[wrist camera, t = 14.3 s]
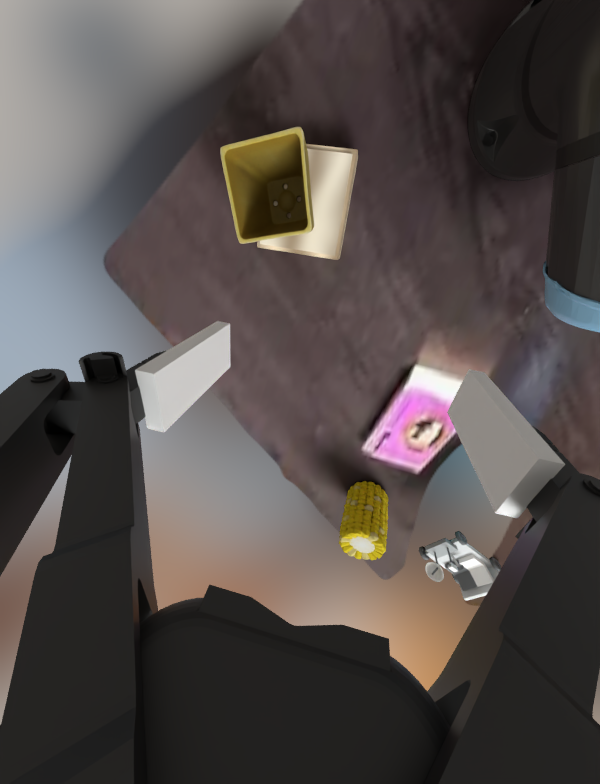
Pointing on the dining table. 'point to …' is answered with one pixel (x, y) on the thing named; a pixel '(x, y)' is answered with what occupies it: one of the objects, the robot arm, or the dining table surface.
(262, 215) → the flower pot
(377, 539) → the food
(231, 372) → the dining table surface
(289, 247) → the cream square block
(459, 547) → the toy car
